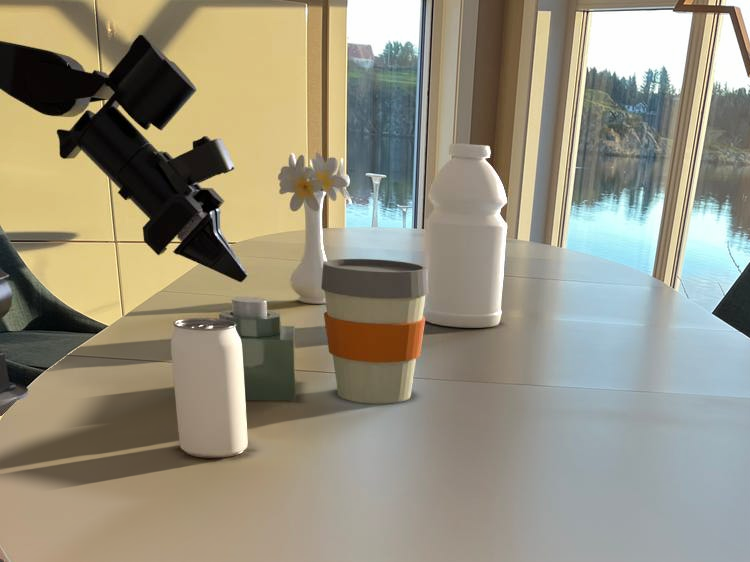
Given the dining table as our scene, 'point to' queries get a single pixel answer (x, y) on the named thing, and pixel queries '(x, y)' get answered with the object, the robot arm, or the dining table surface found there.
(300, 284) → the flower vase
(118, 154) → the robot arm
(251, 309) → the white button cap
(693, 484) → the dining table surface
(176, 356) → the can
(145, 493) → the dining table surface
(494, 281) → the bottle
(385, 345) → the reusable coffee cup
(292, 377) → the button housing
